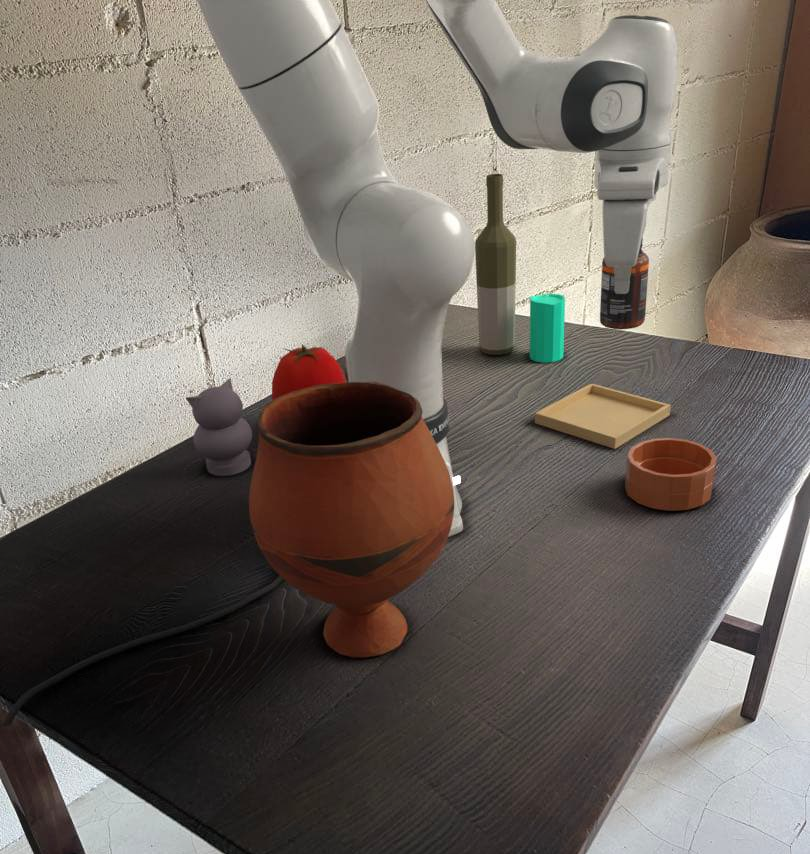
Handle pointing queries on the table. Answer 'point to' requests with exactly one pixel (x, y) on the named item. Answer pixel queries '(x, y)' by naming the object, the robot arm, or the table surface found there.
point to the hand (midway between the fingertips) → (624, 284)
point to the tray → (602, 415)
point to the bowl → (670, 474)
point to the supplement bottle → (624, 296)
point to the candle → (547, 327)
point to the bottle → (496, 276)
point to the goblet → (350, 504)
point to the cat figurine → (221, 430)
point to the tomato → (305, 370)
